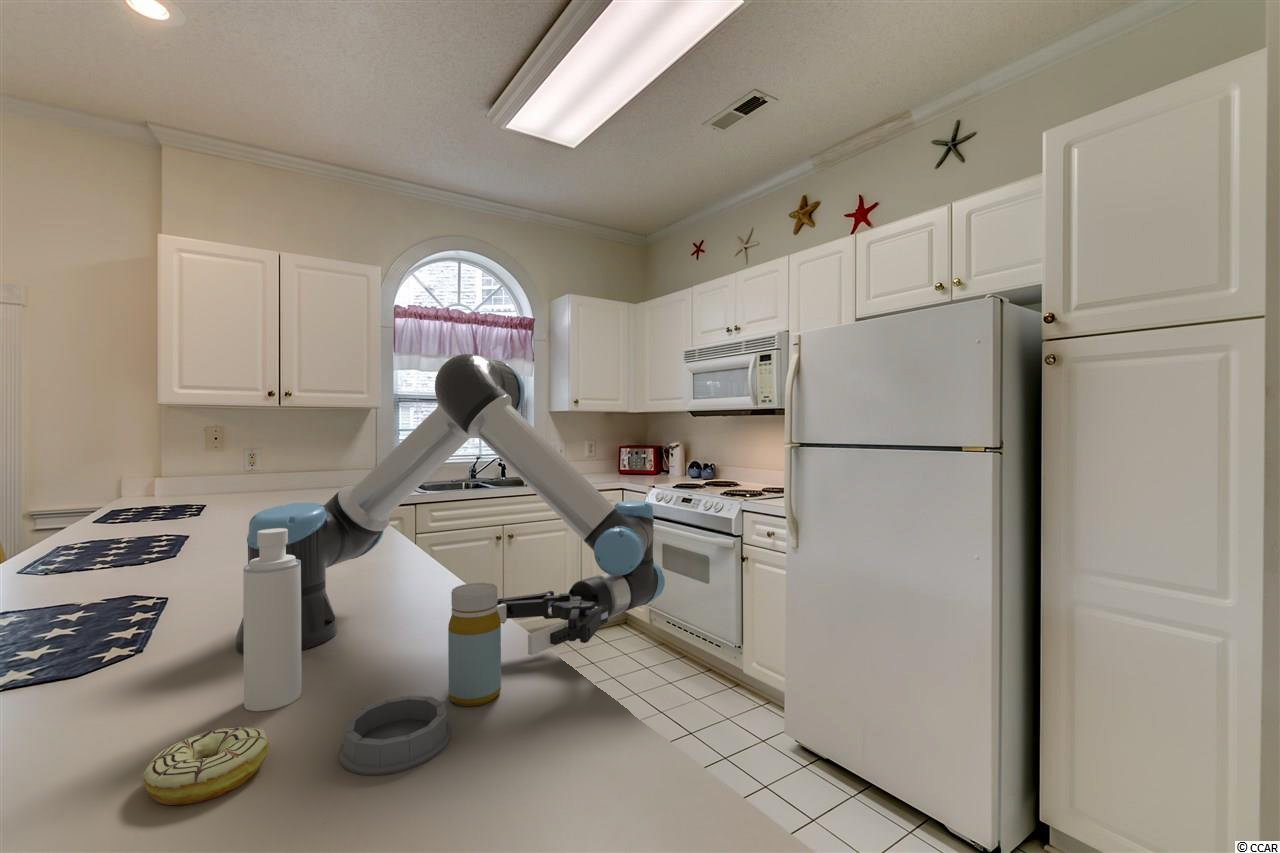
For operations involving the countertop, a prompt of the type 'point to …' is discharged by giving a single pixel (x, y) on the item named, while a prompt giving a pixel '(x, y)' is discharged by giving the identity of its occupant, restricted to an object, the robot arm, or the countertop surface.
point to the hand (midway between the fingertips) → (498, 633)
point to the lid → (394, 735)
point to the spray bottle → (272, 624)
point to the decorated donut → (205, 765)
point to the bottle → (474, 645)
